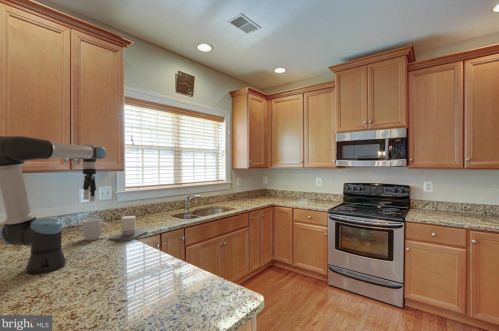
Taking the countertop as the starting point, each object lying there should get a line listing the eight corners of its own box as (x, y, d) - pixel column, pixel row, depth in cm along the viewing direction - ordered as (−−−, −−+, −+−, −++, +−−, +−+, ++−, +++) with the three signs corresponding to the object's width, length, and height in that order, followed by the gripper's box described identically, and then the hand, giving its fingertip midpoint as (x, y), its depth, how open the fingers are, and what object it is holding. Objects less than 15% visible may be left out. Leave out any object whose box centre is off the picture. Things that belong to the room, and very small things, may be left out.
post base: (129, 241, 163) (129, 225, 163) (108, 239, 166) (108, 224, 166) (147, 233, 182) (147, 219, 182) (128, 231, 185) (128, 218, 185)
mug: (106, 234, 177) (106, 216, 177) (109, 238, 169) (109, 219, 169) (81, 238, 168) (81, 219, 168) (83, 242, 159) (83, 222, 159)
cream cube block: (135, 227, 180) (135, 215, 180) (134, 229, 172) (134, 217, 172) (122, 228, 176) (122, 216, 176) (121, 231, 169) (121, 218, 169)
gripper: (101, 168, 158) (101, 201, 158) (90, 168, 175) (90, 198, 174) (88, 168, 152) (87, 202, 152) (78, 168, 169) (77, 199, 169)
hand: (89, 200), depth 163 cm, fingers open, 13 cm apart
